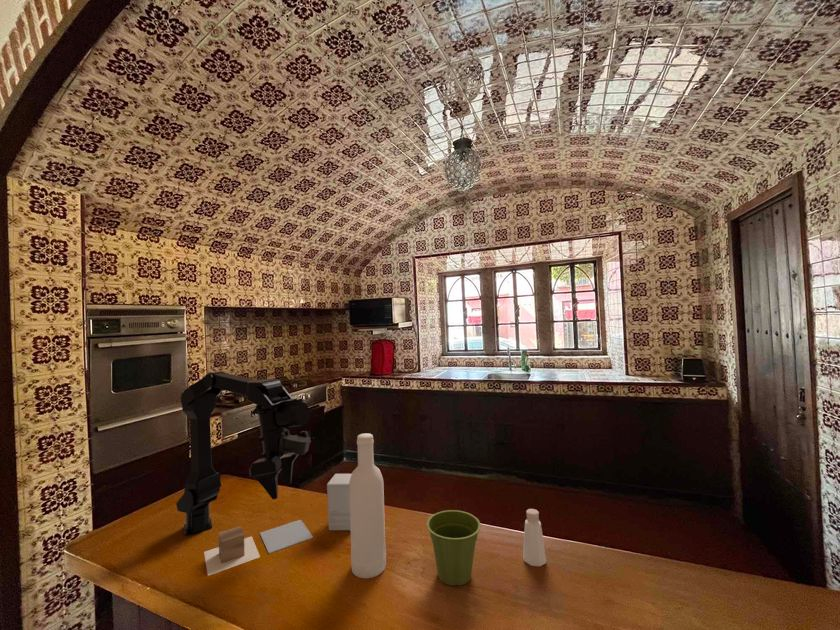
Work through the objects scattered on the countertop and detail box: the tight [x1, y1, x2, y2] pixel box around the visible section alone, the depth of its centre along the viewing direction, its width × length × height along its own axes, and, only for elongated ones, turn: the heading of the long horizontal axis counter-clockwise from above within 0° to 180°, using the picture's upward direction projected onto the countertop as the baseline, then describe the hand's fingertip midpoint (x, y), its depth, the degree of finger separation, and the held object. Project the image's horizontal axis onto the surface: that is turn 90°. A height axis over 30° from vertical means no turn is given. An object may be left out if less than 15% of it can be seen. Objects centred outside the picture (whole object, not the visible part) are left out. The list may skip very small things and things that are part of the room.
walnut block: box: [218, 525, 245, 564], centre depth 90 cm, size 5×5×5 cm
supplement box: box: [326, 473, 352, 531], centre depth 102 cm, size 7×7×13 cm
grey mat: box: [259, 519, 314, 555], centre depth 97 cm, size 11×11×1 cm
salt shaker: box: [522, 508, 547, 567], centre depth 84 cm, size 5×5×11 cm
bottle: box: [349, 432, 387, 579], centre depth 84 cm, size 8×8×30 cm
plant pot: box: [426, 509, 482, 586], centre depth 80 cm, size 12×12×11 cm
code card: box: [203, 536, 261, 577], centre depth 90 cm, size 11×11×1 cm
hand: (282, 491), depth 92 cm, fingers open, 9 cm apart
